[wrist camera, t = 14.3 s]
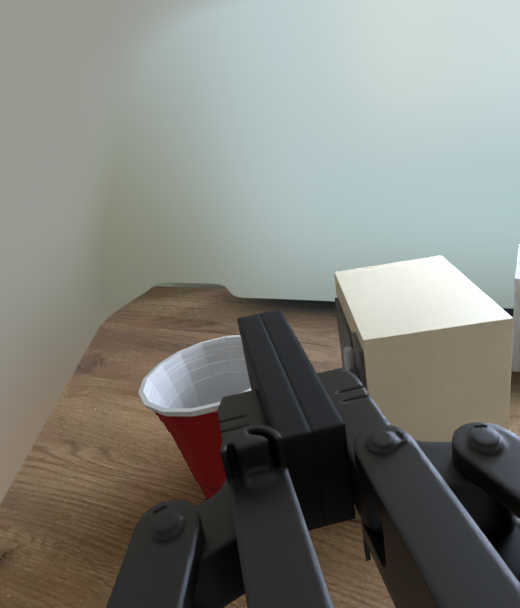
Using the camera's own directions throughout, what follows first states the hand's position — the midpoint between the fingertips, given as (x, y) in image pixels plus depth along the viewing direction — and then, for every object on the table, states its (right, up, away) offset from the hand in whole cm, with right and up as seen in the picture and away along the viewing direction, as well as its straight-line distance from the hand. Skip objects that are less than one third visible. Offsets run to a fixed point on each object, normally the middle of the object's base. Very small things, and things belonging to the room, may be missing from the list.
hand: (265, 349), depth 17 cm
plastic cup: (-2, -14, +24) cm, 27 cm away
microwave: (+14, -9, +27) cm, 32 cm away
